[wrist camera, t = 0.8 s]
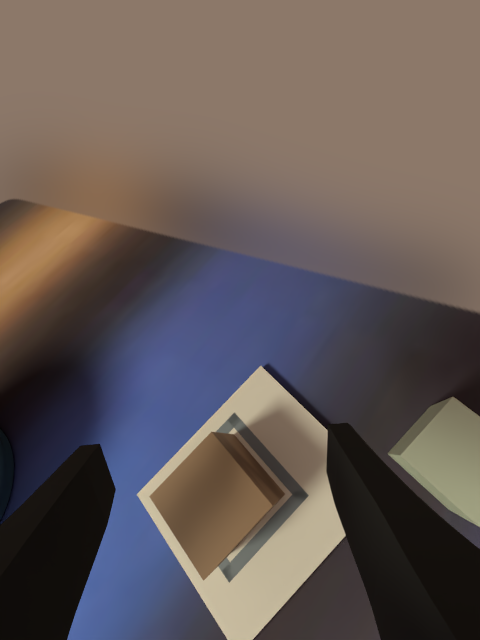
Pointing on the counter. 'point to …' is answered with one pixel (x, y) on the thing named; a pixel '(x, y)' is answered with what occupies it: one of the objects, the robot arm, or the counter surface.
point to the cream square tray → (280, 522)
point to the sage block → (445, 456)
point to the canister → (5, 472)
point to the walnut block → (215, 500)
